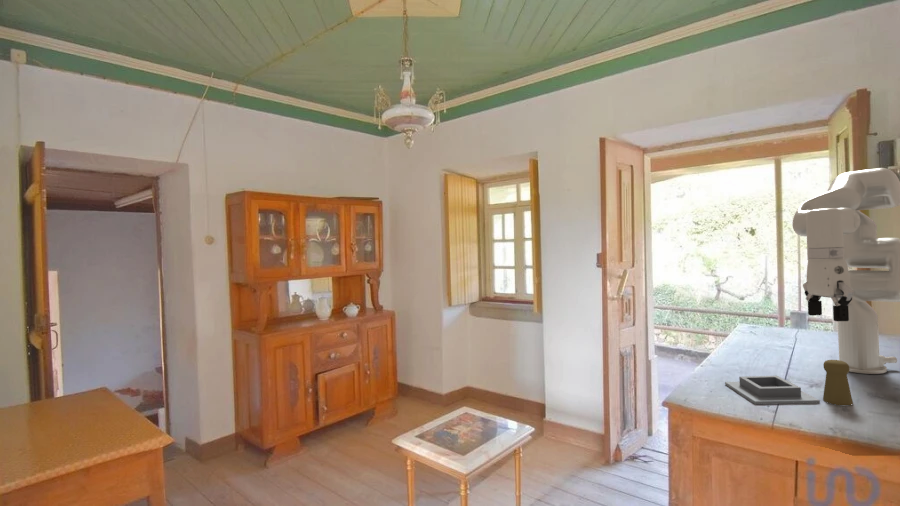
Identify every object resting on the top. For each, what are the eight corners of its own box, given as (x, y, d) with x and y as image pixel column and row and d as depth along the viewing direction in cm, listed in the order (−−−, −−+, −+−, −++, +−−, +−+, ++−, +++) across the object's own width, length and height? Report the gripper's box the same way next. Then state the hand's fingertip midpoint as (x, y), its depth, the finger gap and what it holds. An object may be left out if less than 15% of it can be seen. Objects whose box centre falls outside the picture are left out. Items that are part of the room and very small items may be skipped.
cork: (816, 398, 119) (815, 358, 118) (837, 396, 119) (835, 356, 119) (838, 406, 113) (836, 364, 112) (859, 404, 113) (857, 362, 113)
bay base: (781, 383, 131) (781, 372, 131) (819, 403, 116) (819, 390, 115) (725, 384, 133) (724, 373, 133) (755, 404, 118) (754, 392, 117)
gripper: (866, 254, 108) (869, 323, 108) (818, 253, 125) (820, 312, 125) (833, 255, 109) (835, 323, 109) (789, 254, 126) (791, 313, 126)
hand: (827, 317), depth 117 cm, fingers open, 9 cm apart
